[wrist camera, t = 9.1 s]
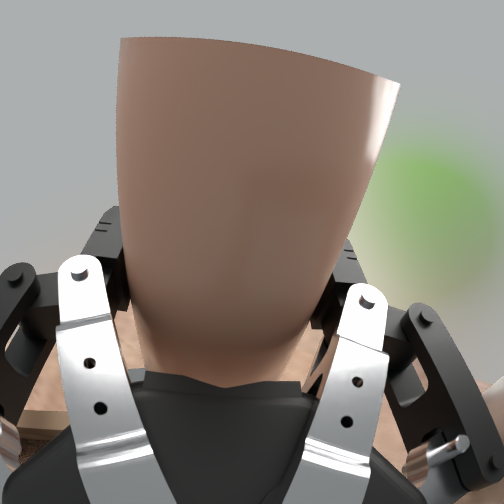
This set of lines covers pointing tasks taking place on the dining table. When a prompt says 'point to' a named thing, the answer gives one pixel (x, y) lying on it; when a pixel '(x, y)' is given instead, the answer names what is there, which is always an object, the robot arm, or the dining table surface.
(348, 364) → the robot arm
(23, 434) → the walnut collar
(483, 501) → the dining table surface
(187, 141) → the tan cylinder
